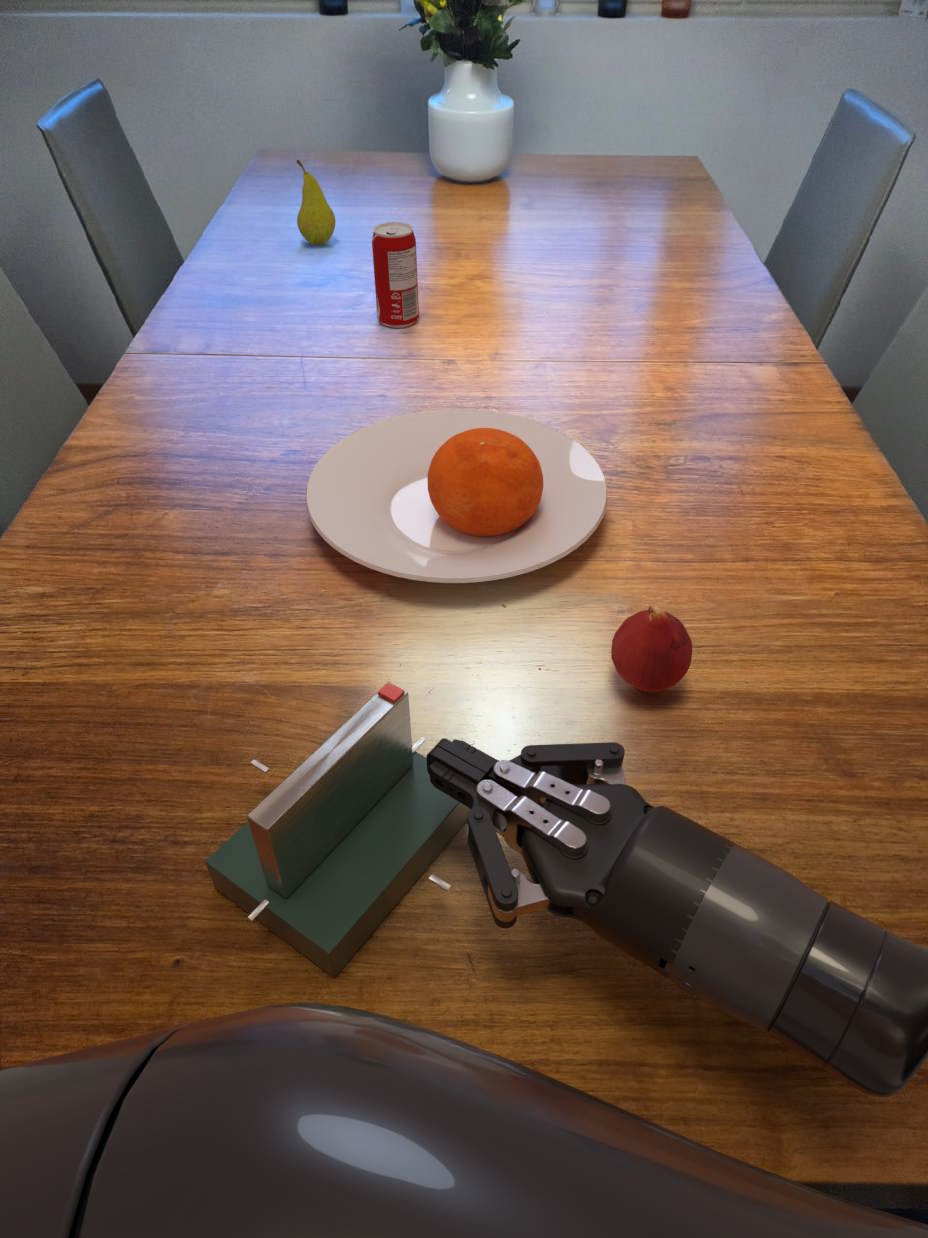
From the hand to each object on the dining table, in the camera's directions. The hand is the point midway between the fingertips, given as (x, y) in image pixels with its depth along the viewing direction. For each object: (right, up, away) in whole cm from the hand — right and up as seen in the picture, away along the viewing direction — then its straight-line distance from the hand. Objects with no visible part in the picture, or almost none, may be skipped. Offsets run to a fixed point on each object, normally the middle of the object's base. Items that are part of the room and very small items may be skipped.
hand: (434, 755), depth 51 cm
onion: (+16, +3, +16) cm, 22 cm away
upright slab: (-6, -5, +3) cm, 8 cm away
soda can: (-7, +48, +65) cm, 81 cm away
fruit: (-21, +67, +86) cm, 111 cm away
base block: (-6, -7, +5) cm, 10 cm away
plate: (+1, +18, +33) cm, 37 cm away
